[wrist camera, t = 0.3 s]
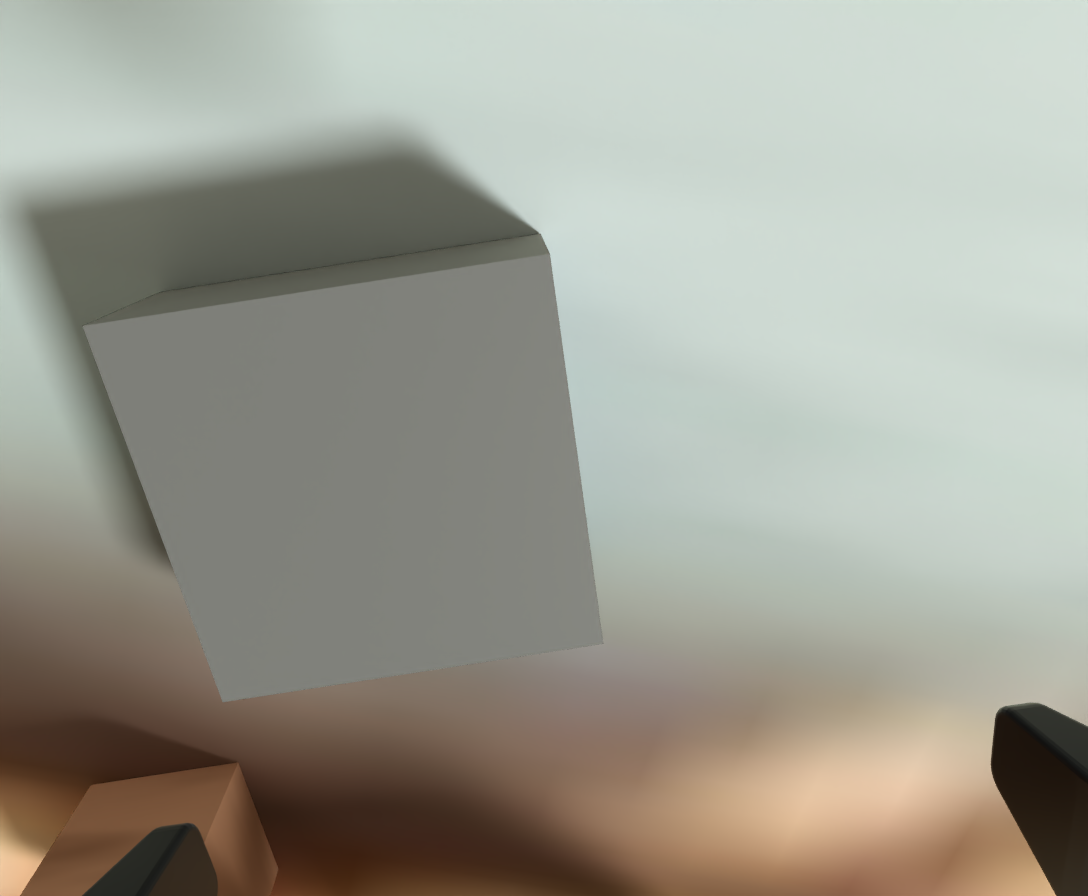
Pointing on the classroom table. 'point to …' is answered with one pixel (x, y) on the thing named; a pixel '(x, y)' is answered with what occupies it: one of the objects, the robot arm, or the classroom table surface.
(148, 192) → the classroom table surface
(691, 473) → the classroom table surface
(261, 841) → the terracotta cube
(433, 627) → the base block
